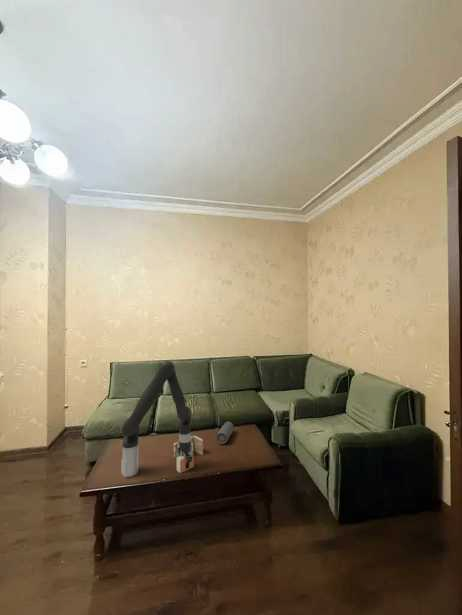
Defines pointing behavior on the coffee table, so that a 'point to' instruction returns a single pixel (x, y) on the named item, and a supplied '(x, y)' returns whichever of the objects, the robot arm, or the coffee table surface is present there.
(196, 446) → the shelf
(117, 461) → the coffee table surface
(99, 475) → the coffee table surface
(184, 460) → the boxed book
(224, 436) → the bluetooth speaker
